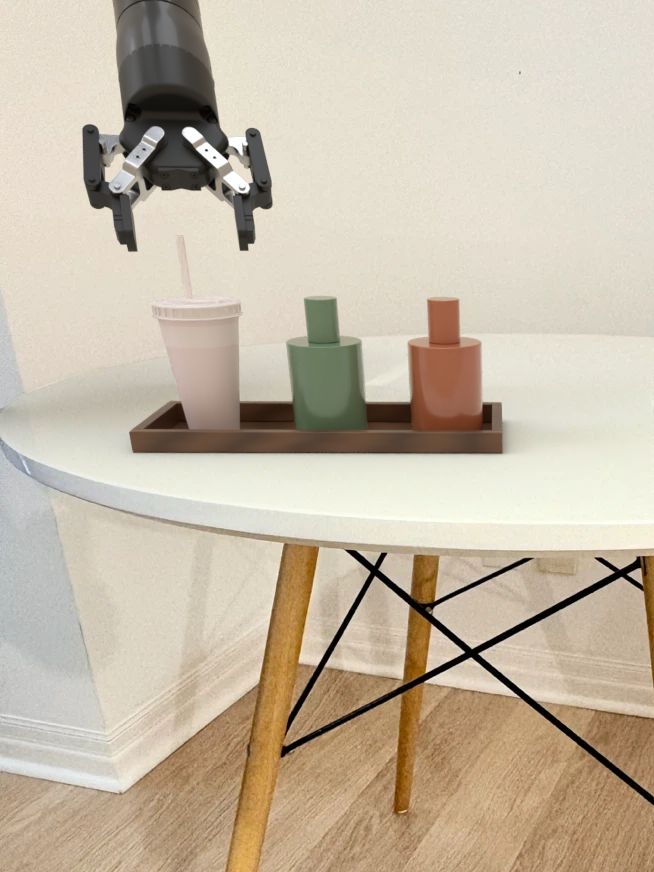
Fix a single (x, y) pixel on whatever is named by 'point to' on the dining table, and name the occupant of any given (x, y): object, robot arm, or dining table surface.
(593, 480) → the dining table surface
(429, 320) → the ceramic bottles
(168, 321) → the smoothie
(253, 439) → the tray
